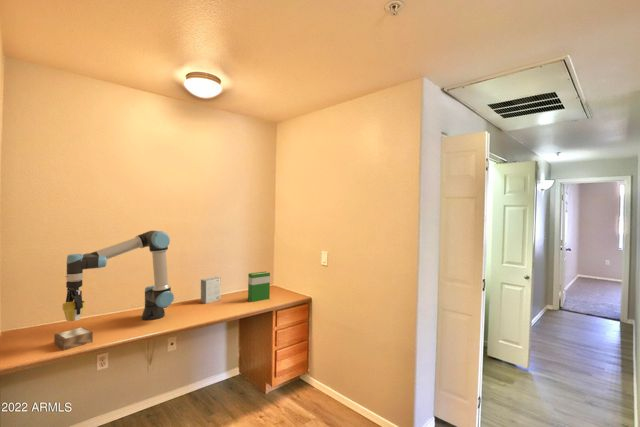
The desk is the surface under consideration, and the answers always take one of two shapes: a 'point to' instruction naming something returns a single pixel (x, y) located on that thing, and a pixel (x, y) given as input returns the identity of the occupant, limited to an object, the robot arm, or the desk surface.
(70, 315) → the plant pot
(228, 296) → the desk surface
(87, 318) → the desk surface
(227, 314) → the desk surface
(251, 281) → the hardback book
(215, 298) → the hard drive box
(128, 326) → the desk surface
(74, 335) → the pedestal block
